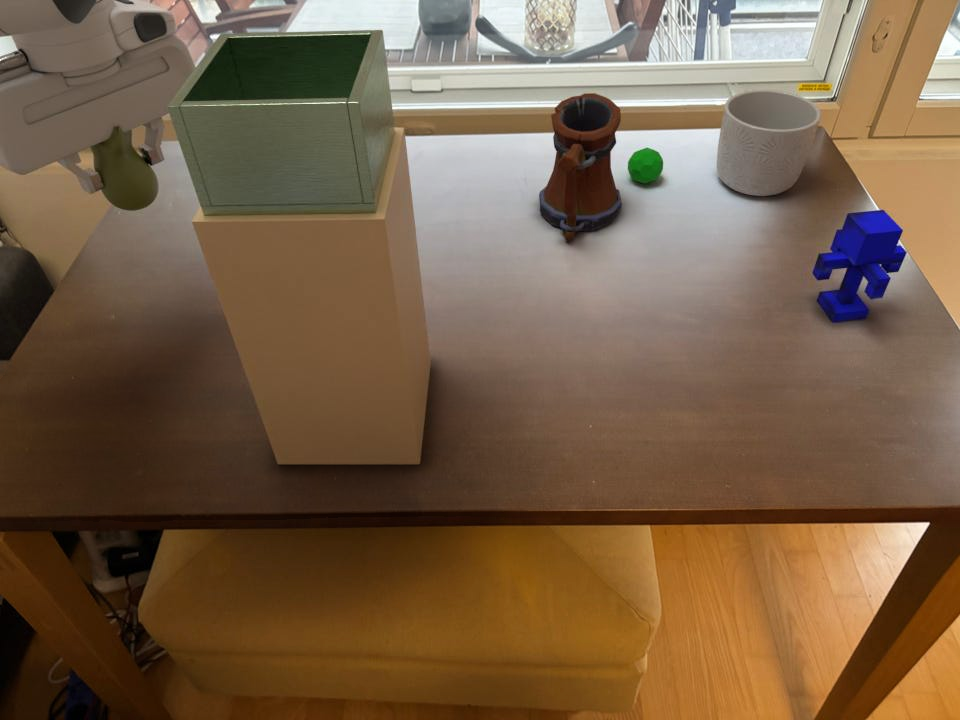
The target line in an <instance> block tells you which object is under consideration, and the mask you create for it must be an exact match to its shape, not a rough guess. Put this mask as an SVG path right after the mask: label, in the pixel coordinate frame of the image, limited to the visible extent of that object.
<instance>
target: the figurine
mask: <svg viewBox="0 0 960 720" xmlns="http://www.w3.org/2000/svg"><path fill="white" fill-rule="evenodd" d="M903 232H904V229H903V228H902V227H901V226H900V225H899V224H898V223H897V222H896V221H895V220H894V219H893V218H892V217H891V216H890V215H889V214H888V213H887V212H886V211H885V210H884V209H876V210H867V211H866V210H865V211H856V212H847V213H846V218H845V219H844V222H843V224H842V228H841V229H836V231H835V234H834V236H833V239H832V243H831V245H830V248H829V250H830V251H829V252H821V253H820V252H819V253H818V255H817V258H816V260H815V264H814V267H813V269H812V273H811V274H812V276H814V278H815V279H816V281H826V280H830V279H831V275H832V273H833V271H834V270H842V269H846V270H845V273H844V275H843V278H842V281H841V283H840V286H839V288H838V289H831V290H823V291H819V292H818V294H817V298H816V302H817V303H818V305H819V306H820V308H821V309H822V310H823V312H824V313H825V315H826V316H827V317H828V319H829V320H830V321H831V323H838V322H839V323H840V322H848V321H858V320H866V319H867V317H868V314H869V312H870V308H869V307H868V306H867V305H866V303H865V302H864V300H862V298H861V296H860V295H859V294H858V292H859V289H860V285H861V284H862V281H863V279H865V280H866V281H867V284H866V286H865V288H864V291H863V292H864V294H865V295H866V296H867V297H868V299H869V300H875V299H876V300H878V299H883V298H884V295H885V293H886V290H887V288H888V286H889V283H890V282H891V279H892V277H891V276H890V275H889V274H891V273H893V274H894V273H899V271H900V269H901V267H902V264H903V262H904V260H905V258H906V256H907V253H908V252H907V251H906V249H905V248H904V247H903V246H902V245H900V244H899V241H900V239H901V237H902V234H903ZM898 244H899V245H898Z"/></svg>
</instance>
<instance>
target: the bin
mask: <svg viewBox="0 0 960 720" xmlns="http://www.w3.org/2000/svg"><path fill="white" fill-rule="evenodd" d="M195 67H196V68H195V69H194V71H193V72H192V73H191V75H190V76H189V77H188V79H187V80H186V81H185V83H184V84H183V85H182V87H181V88H180V90H179V91H178V92H177V94H176V95H175V96H174V98H173V99H172V100H171V102H170V103H169V104H168V106H167V109H168V111H169V114H168V115H169V118H170V119H171V123H172V126H173V129H174V132H175V134H176V138H177V141H178V144H179V147H180V149H181V152H182V155H183V159H184V161H185V164H186V167H187V170H188V174H189V176H190V179H191V182H192V185H193V188H194V191H195V195H196V197H197V200H198V203H199V207H198V209H197V211H196V213H195V215H194V217H193V218H192V220H191V224H192V226H193V229H194V233H195V235H196V238H197V240H198V243H199V247H200V249H201V252H202V255H203V257H204V260H205V263H206V266H207V268H208V272H209V274H210V277H211V280H212V283H213V285H214V289H215V291H216V295H217V297H218V299H219V302H220V306H221V308H222V311H223V314H224V317H225V319H226V322H227V325H228V328H229V330H230V333H231V336H232V339H233V342H234V345H235V348H236V350H237V351H236V352H237V353H238V355H239V359H240V362H241V365H242V368H243V370H244V373H245V375H246V378H247V382H248V385H249V387H250V390H251V393H252V395H253V399H254V401H255V404H256V407H257V411H258V412H259V416H260V418H261V420H262V424H263V427H264V429H265V433H266V435H267V438H268V441H269V443H270V446H271V450H272V452H273V455H274V458H275V460H276V463H277V465H421V457H422V450H423V449H422V447H423V439H424V431H425V429H424V428H425V420H426V411H427V400H428V392H429V383H430V373H431V355H430V347H429V337H428V328H427V319H426V311H425V301H424V291H423V283H422V275H421V266H420V257H419V249H418V239H417V230H416V220H415V212H414V203H413V195H412V194H413V192H412V185H411V176H410V166H409V159H408V151H407V150H408V148H407V140H406V130H405V127H401V126H400V127H396V126H395V119H394V118H395V117H394V111H393V103H392V94H391V86H390V78H389V68H388V62H387V53H386V46H385V36H384V31H383V30H382V29H361V30H360V29H358V30H357V29H356V30H319V31H318V30H317V31H316V30H315V31H280V32H279V31H277V32H241V33H240V32H239V33H235V32H234V33H220V34H219V35H218V36H217V38H216V39H215V40H214V42H213V44H212V45H211V46H210V47H209V49H208V50H207V51H206V53H205V54H204V56H203V57H202V58H201V60H200V61H199V62H198V64H197V65H196V66H195Z"/></svg>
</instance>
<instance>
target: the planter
mask: <svg viewBox="0 0 960 720" xmlns="http://www.w3.org/2000/svg"><path fill="white" fill-rule="evenodd" d="M821 117H822V113H821V110H820V108H819V107H818V106H817V105H816V104H815V103H813V102H812V101H811V100H809V99H807V98H805V97H803V96H801V95H798V94H794V93H791V92H787V91H782V90H776V89H775V90H774V89H754V90H747V91H742V92H739V93H737V94H736V93H735V94H734V95H732V96H731V97H729V98H728V99H727V100H726V101H725V103H724V107H723V113H722V119H721V125H720V129H719V130H720V131H719V136H718V143H717V152H716V171H717V175H718V177H719V178H720V180H721V181H722V183H724V185H726V186H727V187H729V188H730V189H732V190H734V191H736V192H739V193H740V194H744V195H749V196H756V197H767V196H773V195H778V194H781V193H784V192H785V191H787V190H789V189H790V188H792V187H793V186H794V185H795V183H796V182H797V181H798V180H799V178H800V175H802V174H801V173H802V171H803V169H804V166H805V164H806V161H807V159H808V157H809V153H810V151H811V148H812V146H813V145H812V144H813V143H814V139H815V136H816V132H817V130H818V127H819V124H820V122H821Z"/></svg>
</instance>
